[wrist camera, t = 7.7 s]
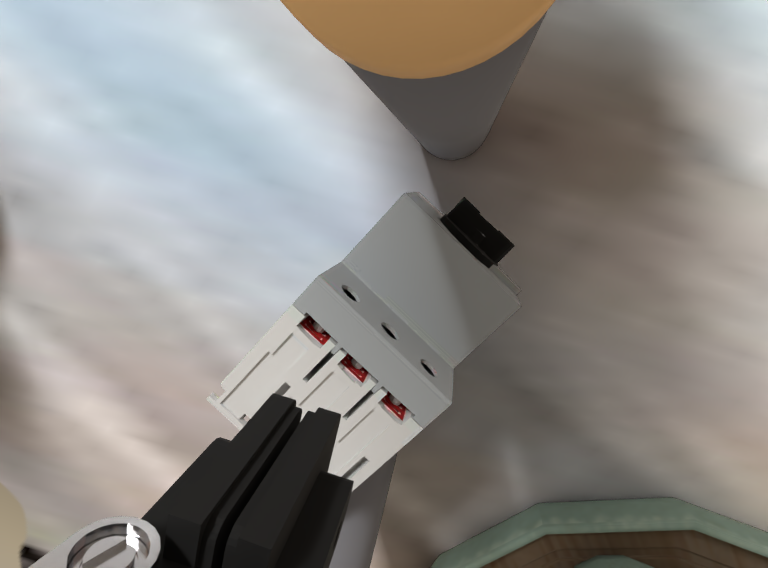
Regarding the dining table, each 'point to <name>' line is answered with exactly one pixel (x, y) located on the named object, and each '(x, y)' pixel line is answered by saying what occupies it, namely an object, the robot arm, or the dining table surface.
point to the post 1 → (363, 520)
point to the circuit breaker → (382, 332)
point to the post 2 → (431, 59)
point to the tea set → (613, 538)
